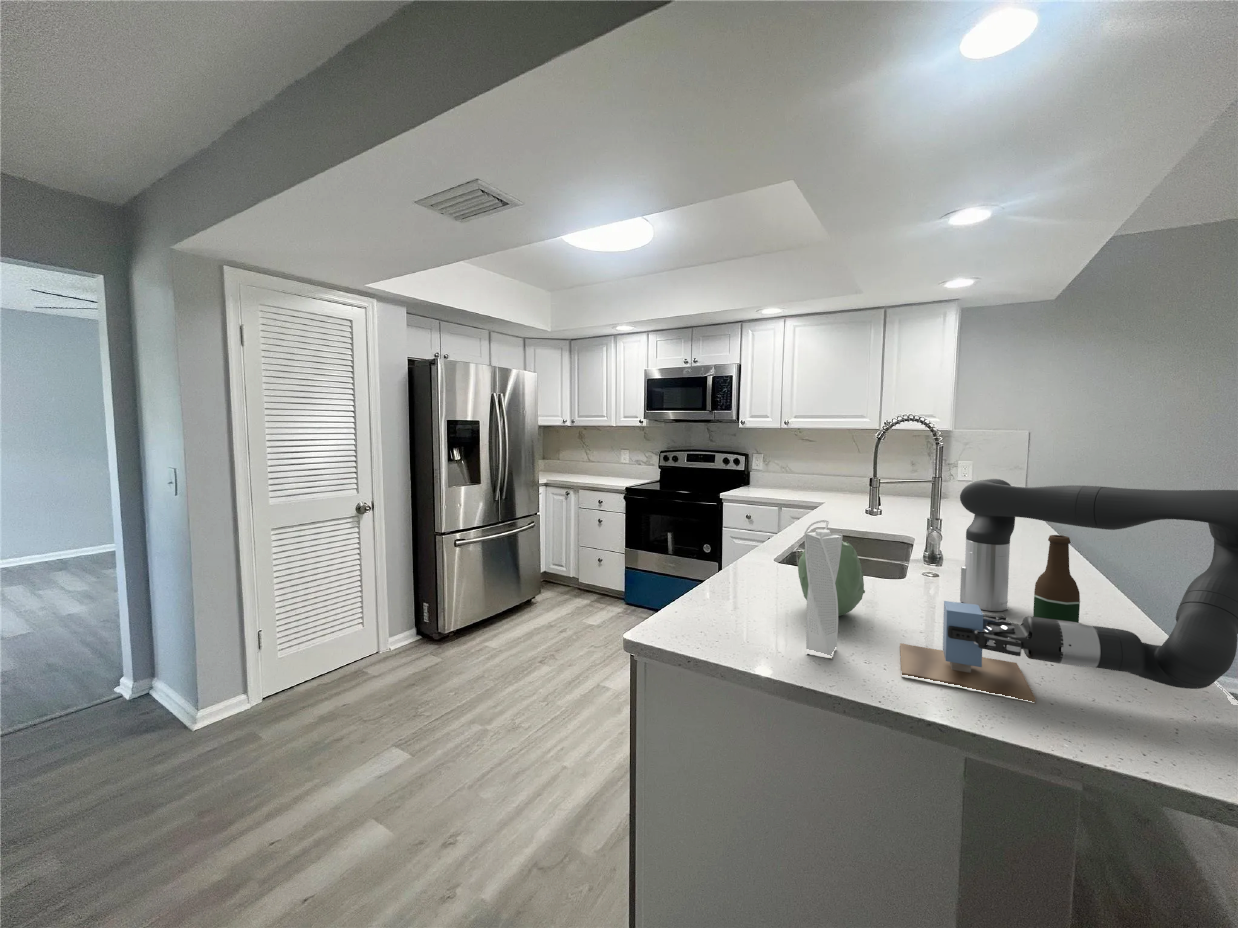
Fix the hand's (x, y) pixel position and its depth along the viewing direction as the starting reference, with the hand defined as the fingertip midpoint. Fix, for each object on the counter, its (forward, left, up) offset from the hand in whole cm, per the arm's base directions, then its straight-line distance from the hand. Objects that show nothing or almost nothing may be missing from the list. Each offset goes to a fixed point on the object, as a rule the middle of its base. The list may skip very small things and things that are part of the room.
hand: (946, 625), depth 96 cm
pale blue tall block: (+2, +1, -6) cm, 7 cm away
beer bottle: (+5, +30, -9) cm, 32 cm away
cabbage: (-31, +4, -9) cm, 33 cm away
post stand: (+2, +1, -9) cm, 9 cm away
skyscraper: (-17, -15, -9) cm, 24 cm away
